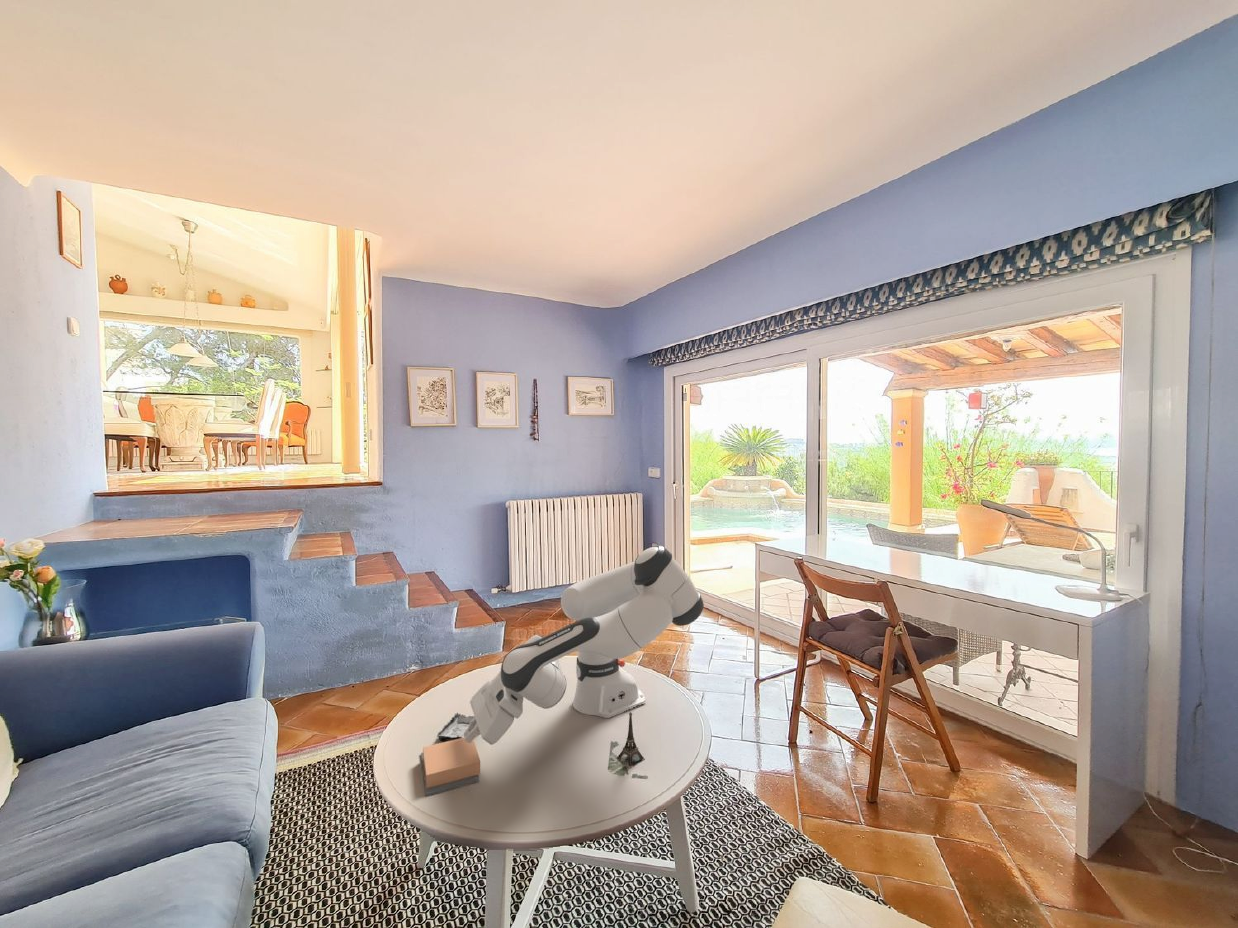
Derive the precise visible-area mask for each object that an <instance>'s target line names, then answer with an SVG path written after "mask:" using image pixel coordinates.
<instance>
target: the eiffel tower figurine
mask: <svg viewBox="0 0 1238 928" xmlns="http://www.w3.org/2000/svg"><path fill="white" fill-rule="evenodd" d="M631 711H632V709H631V708H630V712H629V713H628V717H629V718H628V733H627V737H626V741H625V745H624V746H623V747H622V750H621V751H620V753H619V754H618V755H617V754H615V753H614V752H613V750H615V748H616V747H619V745H620V744H619V742H618V741H611V743H610V749H609V756H608V757H609V758H608V764H607V770H608V771H609V772H610V773H612V774H613V775H616V776H626V775H627V776H628V775H630V773H629V770H628V769H632V768H633V767H635V766H637V765H638V764H640V763H642V762H643V761H645V760H646V758H644V756H643V754H642V753H641V751H639V747H637V744H636V742H635V737H634V731H633V717H632V716H633V713H632V712H631ZM647 778H648V775H641V774H638V773H632V774H631V779H647Z"/></svg>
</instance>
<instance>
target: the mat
mask: <svg viewBox="0 0 1238 928" xmlns="http://www.w3.org/2000/svg"><path fill="white" fill-rule="evenodd" d="M420 756H421V757H420V758H421V765H422V775H423V783H424V793H425V797H428V795H429V796H432V795H435V794H439V793H442V792H447V791H450V790H453V789H457V788H461V787H464V786H469V785H471V784H475V783H479V776H478V775H474V776H470V777H466V778H463V779H459V780H455V781H452V782H448V783H444V784H440V785H437V786H433V787H429V788H426V780H425V771H424V763H423V752H421V753H420Z"/></svg>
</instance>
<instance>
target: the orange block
mask: <svg viewBox="0 0 1238 928" xmlns="http://www.w3.org/2000/svg"><path fill="white" fill-rule="evenodd" d="M422 753H423V763H424V771H425V780H426V788H429V787H433V786H437V785H440V784H444V783H448V782H452V781H455V780H459V779H463V778H466V777H470V776H474V775H477V776H478V775H481V758H480V756H479V751H478V749H477V745H476V743H475V738H474V739H473V740H472V742H470V743H468V742H467V741H465V737H464V738H460V739H456V740H452V741H447V742H443V743H440V742H439V743H435V744H431V745H427V746H423V747H422Z"/></svg>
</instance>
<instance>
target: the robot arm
mask: <svg viewBox="0 0 1238 928" xmlns="http://www.w3.org/2000/svg"><path fill="white" fill-rule="evenodd" d="M694 584H695V583H694V582H693V581H692V579H691V578H690V576H689V575H688V573H687V572H686V571H685V569H684V568H683V567H682V566H681V565H680V563H679V562H678V561H677V560H676V559H675V558H674V557H673V554H672V553H671V551H669V550H668V549H667V548H666V547H664V546H662V545H653V546H650V547H648V548H646V549H645V550H643V551H642V552H641V553H640V554H639V555H638V556H637V557H636V558H635V560H634V561H631V562H629V563H626V564H624V565H623V564H622V565H621V566H619V567H616V568H613V569H610V570H608V571H604V572H601V573H599V574H597V575H593V576H590V577H588V578H585V579H581V580H579V581H577V582H575V583H573V584H572V585H570V586H569V587H567V588H565V589H564V590H563V592H562V594H561V597H560V606H561V610H562V612H563V613H564V615H565V616H566V617H567V618H568V619H570V620H573V621H574V622H572V623H570V624H568V625H566V626H564V627H561V628H559V629H558V630H556V631H554V632H551V633H550V634H547V635H546V636H543V635H541V634H534V635H533V636H531V637H530V638H529V639H528V640H527V641H526V642H525V643H524V644H521V645H519V646H516V647H514V648H513V649H511V650H509V652H508V653H507V654H505V656H504V657H503V660H502V662H501V667H500V671H499V672H498V673H497V674H496V676H495V677H494V678H493V679H492V680H490V681H487V682H486V683H484V684H483V685H482V686H481V687H480V688H479V689H478V690H477V692H475V694H473V695H472V697H471V699H470V701H469V705H470V707H471V710H472V712H473V715H474V717H473V719H472V720H471V722H470V724H469V726H468V728H467V729H466V731H465V732H464V737H465V741H467V742H468V743H470V742H472V740H473V739H474V740H475V738H478V736H481V739H482V740H484V741H485V742H486V743H487V744H489V745H491V746H492V745H495V744H497V742H499V741H500V740H501V738H502V737H503V736H504V735H505V733H506V732H507V731H508V730H509V729H510V728H511V726H512V725H513V724H514V721H515V718H516V719H519V718H520V717H521V715H522V714H523V713H524V712H523V706H524V704H523V703H524V698H525V700H527V701H529V702H530V703H532V704H534V705H535V706H537V707H540V708H542V709H546V710H547V709H551V708H553V707H555V706H556V705H558V703H560V701H561V700H562V699H563V697H564V696H565V693H566V689H567V678H566V676H565V675H564V674H563V671H562V669H561V666H560V663H559V659H561V658H563V657H565V656H568V655H570V654H572V653H575V652H577V657H576V667H575V670H576V671H575V672H576V678H577V679H576V687H575V693H574V697H573V702H572V707H573V708H574V710H575V711H577V712H579V713H581V714H585V715H590V716H598V717H602V718H605V719H609V718H612V717H614V716H617V715H620V714H623V713H624V711H625V712H627V711H629V710H628V709H630V708H631V710H632V709H634V708H633V707H635V706H637V705H640V706H642V705H641V704H643V703H644V702H645V703H646V696H645V695H644V693H643V692H642V691H641V690H640V689H639V688H638V685H637V681H636V680H635V677H633V676H632V675H631V674H630V673H629V672H628V671H626V670H624V669H623V667H625V665H626V662H625V660H623V659H625V658H628V657H629V656H632V655H634V654H635V653H637V652H638V651H640V650H642V649H643V648H644V647H645V646H647V645H649V644H651V642H653V641H654V640H655V639H656V638H658V637H659V636H660V635H661V634H662V633H664V631H666V630H667V629H668V628H669V627H670V625H671V624H674V625H675V626H677V627H681V626H682V627H684V626H687V625H690V624H692V623H694V622H695V621H697V619H698V618H699V617H700V616H701V614H702V613H703V610H704V606H705V603H704V601H703V598H702V595H701V594H700V592H699V591H698V590H697V589H696V586H695V585H694ZM643 705H644V704H643ZM635 708H636V707H635ZM626 710H627V711H626Z"/></svg>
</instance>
